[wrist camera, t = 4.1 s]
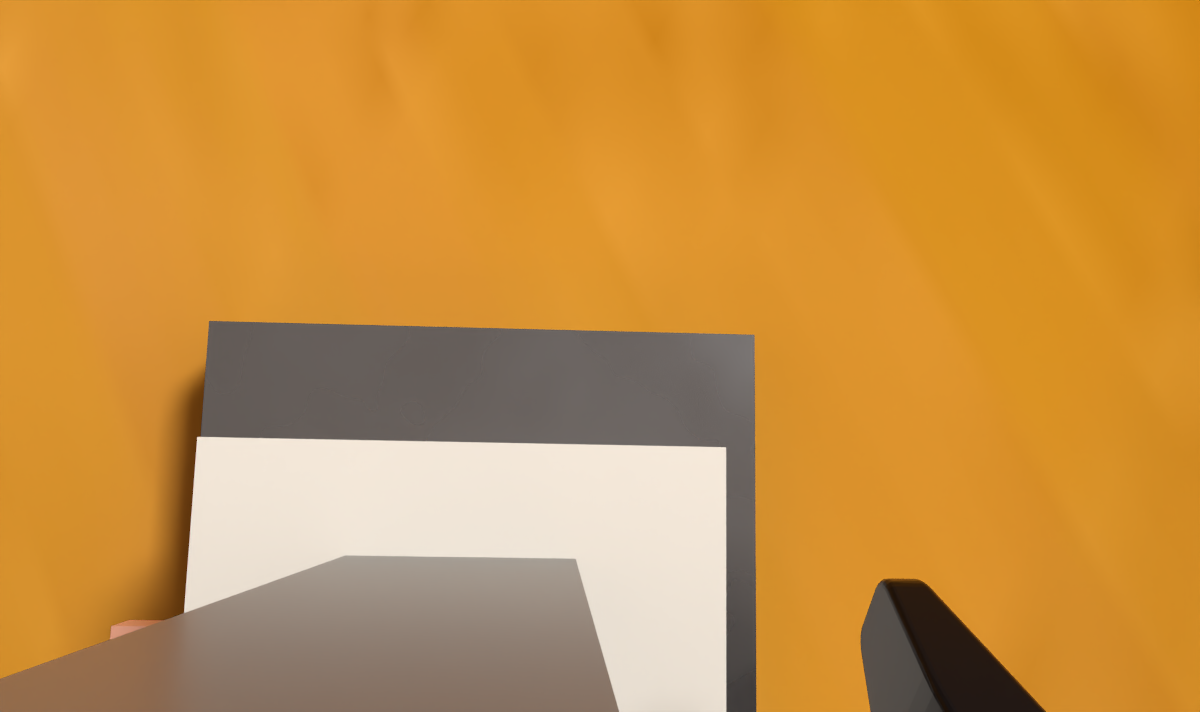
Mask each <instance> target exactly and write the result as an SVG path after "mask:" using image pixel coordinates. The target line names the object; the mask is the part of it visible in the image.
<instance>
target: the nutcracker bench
mask: <svg viewBox="0 0 1200 712" xmlns="http://www.w3.org/2000/svg"><path fill="white" fill-rule="evenodd" d="M201 437H229V438H280V439H331V440H382V441H433V442H484V443H535V444H587V445H638V446H689V447H726V712H756V567H755V363H754V335H736V334H697V333H657V332H618V331H578V330H539V329H499V328H460V327H420V326H381V325H341V324H302V323H262V322H223V321H209V332H208V345H207V359H206V372H205V385H204V399H203V412H202V425H201Z"/></svg>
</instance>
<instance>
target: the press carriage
mask: <svg viewBox="0 0 1200 712" xmlns="http://www.w3.org/2000/svg"><path fill="white" fill-rule="evenodd" d="M0 712H726V447H689V446H638V445H587V444H535V443H484V442H433V441H382V440H331V439H280V438H229V437H197V447H196V460H195V474H194V487H193V500H192V513H191V526H190V540H189V553H188V566H187V579H186V593H185V606H184V613H183V614H180V615H177V616H175V617H172V618H169V619H166V620H128V621H125V622H122V623H119V624H116V625H113V626H111V636H110V640H108V641H105V642H102V643H99V644H96V645H94V646H91V647H88V648H85V649H82V650H80V651H77V652H74V653H71V654H69V655H66V656H63V657H60V658H57V659H55V660H52V661H49V662H46V663H43V664H41V665H38V666H35V667H32V668H29V669H27V670H24V671H21V672H18V673H15V674H13V675H10V676H7V677H4V678H1V679H0Z"/></svg>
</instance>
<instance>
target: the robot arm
mask: <svg viewBox="0 0 1200 712" xmlns="http://www.w3.org/2000/svg"><path fill="white" fill-rule="evenodd" d="M861 652H862V659H863V666H864V672H865V678H866V685H867V691H868V698H869V704H870V710H871V712H1046V711H1045V710H1044V709H1043V708H1042V707H1041V706H1040V705H1039V704H1038V703H1037V702H1036V700H1035V699H1034V698H1033V697H1032V696H1031V695H1030V694H1029V693H1028V692H1027V691H1026V690H1025V689H1024V688H1023V687H1022V685H1021V684H1020V683H1019V682H1018V681H1017V680H1016V679H1015V678H1014V677H1013V676H1012V675H1011V674H1010V673H1009V672H1008V670H1007V669H1006V668H1005V667H1004V666H1003V665H1002V664H1001V663H1000V662H999V661H998V660H997V659H996V658H995V657H994V655H993V654H992V653H991V652H990V651H989V650H988V649H987V648H986V647H985V646H984V645H983V644H982V643H981V642H980V640H979V639H978V638H977V637H976V636H975V635H974V634H973V633H972V632H971V631H970V630H969V629H968V628H967V627H966V625H965V624H964V623H963V622H962V621H961V620H960V619H959V618H958V617H957V616H956V615H955V614H954V613H953V612H952V610H951V609H950V608H949V607H948V606H947V605H946V604H945V603H944V602H943V601H942V600H941V599H940V598H939V597H938V595H937V594H936V593H935V592H934V591H933V590H932V589H931V588H930V587H929V586H928V585H927V584H925V583H924V582H922V581H920V580H917V579H884V580H882V581H881V582H880V583H879V584H878V586H877V587H876V590H875V593H874V595H873V598H872V601H871V604H870V607H869V609H868V612H867V615H866V618H865V621H864V624H863V627H862V631H861Z"/></svg>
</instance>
